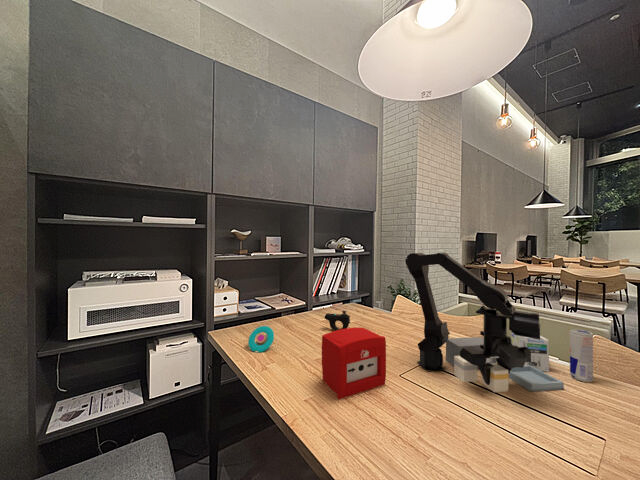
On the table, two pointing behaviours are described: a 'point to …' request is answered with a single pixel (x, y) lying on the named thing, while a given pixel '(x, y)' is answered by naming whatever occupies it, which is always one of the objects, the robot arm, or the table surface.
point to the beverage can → (581, 355)
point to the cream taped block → (497, 379)
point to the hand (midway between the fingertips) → (494, 383)
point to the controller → (338, 317)
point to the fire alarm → (353, 361)
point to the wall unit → (458, 343)
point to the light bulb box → (534, 350)
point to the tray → (534, 379)
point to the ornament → (261, 339)
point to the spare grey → (464, 370)
